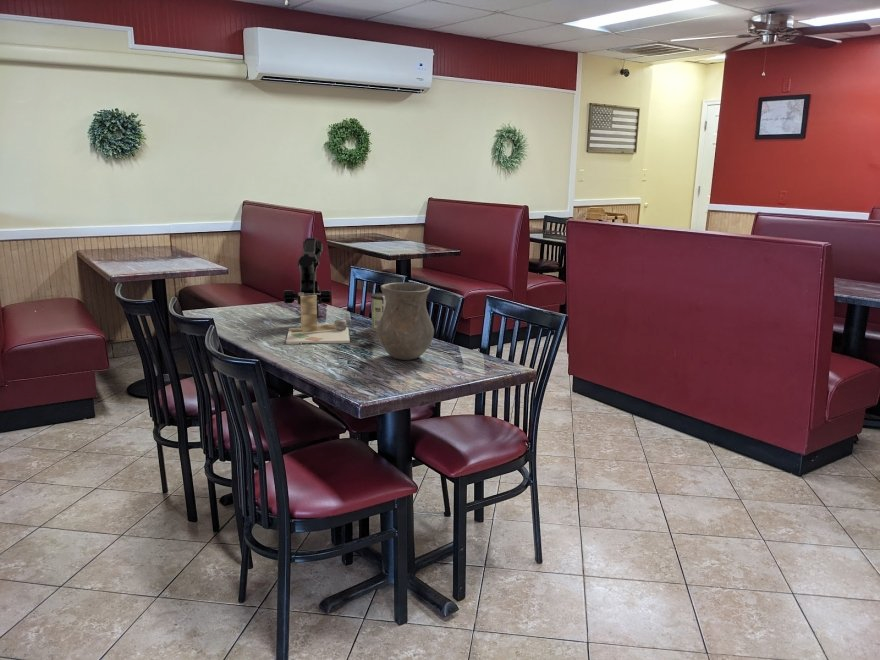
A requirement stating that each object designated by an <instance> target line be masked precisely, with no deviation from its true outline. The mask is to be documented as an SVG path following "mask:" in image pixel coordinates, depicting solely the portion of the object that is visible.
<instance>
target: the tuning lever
mask: <svg viewBox="0 0 880 660" xmlns="http://www.w3.org/2000/svg"><path fill="white" fill-rule="evenodd" d="M300 298H301V304H300V328H301V330H294V331H291V332H292V333H293V332H302V333H305V332H315V331H324V330H333V329H338V330H344V329H346V327H347V320H345V319H335V320H334V323H329V324H328V323H327V324H319V325H318V318H317V301H318V300H317V295H309V296H300Z"/></svg>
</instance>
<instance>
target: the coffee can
mask: <svg viewBox="0 0 880 660" xmlns="http://www.w3.org/2000/svg"><path fill="white" fill-rule="evenodd" d="M383 295H384V294H383V292H377V293H372V294H371V295H370V296H371V331H373V330H375V331H374V332H377V327H378V325H379V322H380V320H381V317H382V297H383Z"/></svg>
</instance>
